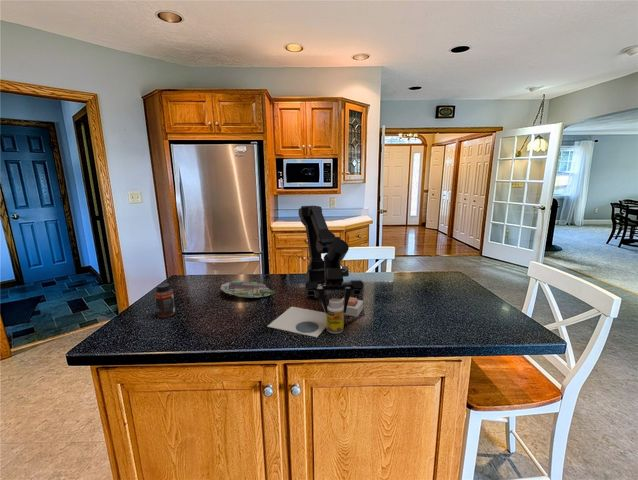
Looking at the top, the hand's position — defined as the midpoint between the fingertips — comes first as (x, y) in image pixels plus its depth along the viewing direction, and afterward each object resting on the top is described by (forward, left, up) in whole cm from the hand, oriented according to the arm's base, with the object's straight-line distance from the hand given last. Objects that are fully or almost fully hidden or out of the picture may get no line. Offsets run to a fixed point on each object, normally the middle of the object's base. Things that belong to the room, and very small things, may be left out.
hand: (335, 312), depth 95 cm
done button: (-1, +17, -5) cm, 18 cm away
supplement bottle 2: (-1, +1, -7) cm, 7 cm away
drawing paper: (-13, +3, -7) cm, 15 cm away
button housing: (-1, +17, -7) cm, 18 cm away
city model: (-47, +18, -7) cm, 51 cm away
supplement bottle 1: (-61, -12, -7) cm, 62 cm away
